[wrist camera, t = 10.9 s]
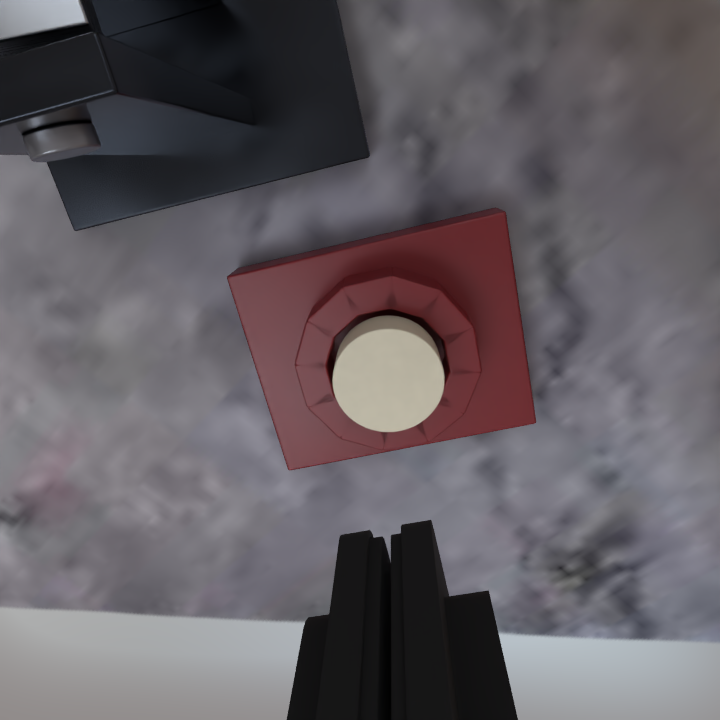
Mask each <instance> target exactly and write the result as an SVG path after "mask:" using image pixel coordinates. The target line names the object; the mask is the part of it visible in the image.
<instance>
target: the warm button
mask: <svg viewBox="0 0 720 720" xmlns="http://www.w3.org/2000/svg"><path fill="white" fill-rule="evenodd" d="M332 382H333V390H334V394H335V397H336V400H337V402H338V404H339V406H340V407H341V408H342V410H343V411H344V412H345V413H346V415H347V416H348V417H350V418H351V419H352V420H353V421H355V422H356V423H358V424H359V425H361V426H363V427H365V428H368V429H371V430H375V431H380V432H396V431H402V430H406V429H409V428H411V427H414V426H416V425H417V424H419V423H421V422H422V421H424V420H425V419H426V418H427V417H428V416H429V415H430V414H431V413H432V412H433V411H434V410H435V408H436V407H437V405H438V404H439V402H440V399H441V397H442V394H443V391H444V384H445V376H444V369H443V366H442V362H441V359H440V355H439V352H438V349H437V346H436V344H435V342H434V340H433V339H432V337H431V336H430V335H429V333H428V332H427V331H426V330H425V329H424V328H422V327H421V326H420V325H418V324H417V323H415V322H413V321H411V320H409V319H406V318H403V317H399V316H391V315H387V316H377V317H373V318H370V319H367V320H365V321H363V322H361V323H359V324H358V325H356V326H355V327H354V328H353V329H351V330H350V331H349V333H348V334H347V335H346V336H345V337H344V339H343V341H342V342H341V344H340V346H339V349H338V352H337V356H336V361H335V366H334V370H333V378H332Z"/></svg>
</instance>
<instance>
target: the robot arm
mask: <svg viewBox="0 0 720 720" xmlns="http://www.w3.org/2000/svg"><path fill="white" fill-rule="evenodd" d="M287 720H518V718H517V714H516V709H515V705H514V700H513V696H512V692H511V687H510V683H509V678H508V674H507V670H506V665H505V661H504V656H503V652H502V648H501V643H500V639H499V634H498V630H497V625H496V621H495V616H494V612H493V608H492V603H491V599H490V594H489V591H483V592H476V593H469V594H463V595H456V596H449V594H448V589H447V585H446V581H445V576H444V572H443V568H442V563H441V559H440V555H439V550H438V546H437V542H436V537H435V533H434V529H433V525H432V521H431V520H428V521H422V522H416V523H410V524H404V525H402V526H401V533H400V534H394V535H391V562H390V559H389V555H388V551H387V547H386V544H385V540H384V538H383V537H376V538H373V534H372V532H371V531H370V530H368V531H362V532H356V533H350V534H344V535H341V536H340V539H339V545H338V553H337V560H336V568H335V576H334V583H333V591H332V598H331V606H330V613H329V615H322V616H315V617H309V618H308V619H307V620H306V621H305V625H304V629H303V634H302V639H301V645H300V650H299V656H298V661H297V666H296V672H295V678H294V683H293V688H292V694H291V700H290V705H289V710H288V716H287Z"/></svg>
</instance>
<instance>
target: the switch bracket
mask: <svg viewBox="0 0 720 720" xmlns="http://www.w3.org/2000/svg"><path fill="white" fill-rule="evenodd" d="M91 1H92V4H93V6H94V9H95V12H96V15H97V18H98V21H99V24H100V27H101V30H102V33H103V34H101V33H98V32H94V31H93V32H90V33H86V34H83V35H79V36H76V37H73V38H69V39H66V40H62V41H59V42H56V43H52V44H49V45H45V46H42V47H39V48H35V49H32V50H28V51H25V52H22V53H18V54H15V55H11V56H8V57H5V58H1V59H0V155H29V157H30V159H31V160H32V161H34V162H47V164H48V166H49V169H50V171H51V174H52V176H53V179H54V181H55V184H56V186H57V189H58V191H59V194H60V196H61V199H62V201H63V204H64V206H65V209H66V211H67V214H68V216H69V219H70V221H71V224H72V226H73V229H74V230H75V231H78V230H82V229H86V228H90V227H94V226H98V225H102V224H106V223H110V222H114V221H118V220H122V219H126V218H130V217H134V216H138V215H142V214H146V213H150V212H154V211H158V210H162V209H166V208H170V207H174V206H178V205H181V204H185V203H189V202H193V201H197V200H201V199H205V198H209V197H213V196H217V195H221V194H225V193H229V192H233V191H237V190H241V189H245V188H249V187H253V186H257V185H261V184H265V183H269V182H273V181H277V180H281V179H285V178H289V177H293V176H297V175H301V174H305V173H309V172H313V171H316V170H320V169H324V168H328V167H332V166H336V165H340V164H344V163H348V162H352V161H356V160H360V159H364V158H368V157H370V152H369V148H368V143H367V138H366V134H365V129H364V124H363V120H362V115H361V111H360V106H359V101H358V97H357V92H356V88H355V83H354V78H353V74H352V69H351V65H350V60H349V55H348V51H347V46H346V41H345V37H344V32H343V28H342V23H341V18H340V14H339V9H338V5H337V0H91Z"/></svg>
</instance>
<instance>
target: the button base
mask: <svg viewBox="0 0 720 720" xmlns="http://www.w3.org/2000/svg"><path fill="white" fill-rule="evenodd" d="M227 279H228V283H229V286H230V289H231V292H232V295H233V298H234V301H235V304H236V308H237V311H238V314H239V317H240V320H241V323H242V326H243V329H244V333H245V336H246V339H247V342H248V345H249V348H250V351H251V354H252V358H253V361H254V364H255V367H256V370H257V373H258V376H259V379H260V383H261V386H262V389H263V392H264V395H265V398H266V401H267V404H268V408H269V411H270V414H271V417H272V420H273V423H274V426H275V430H276V433H277V436H278V439H279V442H280V445H281V448H282V451H283V455H284V458H285V461H286V464H287V467H288V470H294V469H300V468H305V467H310V466H315V465H320V464H326V463H331V462H336V461H341V460H347V459H352V458H357V457H362V456H367V455H373V454H378V453H383V452H388V451H393V450H399V449H404V448H409V447H414V446H420V445H425V444H430V443H435V442H440V441H446V440H451V439H456V438H461V437H466V436H472V435H477V434H482V433H487V432H493V431H498V430H503V429H508V428H513V427H519V426H524V425H529V424H534V423H536V417H535V410H534V403H533V397H532V390H531V383H530V376H529V369H528V362H527V355H526V348H525V341H524V335H523V328H522V321H521V314H520V307H519V300H518V293H517V286H516V279H515V273H514V266H513V259H512V252H511V245H510V238H509V231H508V224H507V217H506V212H505V211H503V210H500V209H498V208H492V209H487V210H483V211H479V212H475V213H470V214H466V215H462V216H458V217H453V218H449V219H445V220H441V221H436V222H432V223H428V224H424V225H419V226H415V227H411V228H407V229H403V230H398V231H394V232H390V233H386V234H381V235H377V236H373V237H369V238H364V239H360V240H356V241H352V242H347V243H343V244H339V245H335V246H330V247H326V248H322V249H318V250H313V251H309V252H305V253H301V254H296V255H292V256H288V257H284V258H279V259H275V260H271V261H267V262H263V263H258V264H254V265H250V266H246V267H241V268H238V269H236V270H235V271H234V272H232V273H231V274H230V275H229V276H227ZM387 315H391V316H399V317H403V318H406V319H409V320H411V321H413V322H415V323H417V324H418V325H420V326H421V327H422V328H424V329H425V330H426V331H427V332H428V333H429V335H430V336H431V337H432V339H433V340H434V342H435V344H436V346H437V349H438V352H439V355H440V359H441V362H442V366H443V369H444V376H445V384H444V391H443V394H442V397H441V399H440V402H439V404H438V405H437V407H436V408H435V410H434V411H433V412H432V413H431V414H430V415H429V416H428V417H427V418H426V419H425V420H424V421H422V422H421V423H419V424H417V425H416V426H414V427H411V428H409V429H406V430H402V431H396V432H380V431H375V430H371V429H368V428H365V427H363V426H361V425H359V424H358V423H356V422H355V421H353V420H352V419H351V418H350V417H348V416H347V415H346V413H345V412H344V411H343V410H342V408H341V407H340V406H339V404H338V402H337V400H336V397H335V394H334V390H333V382H332V378H333V370H334V366H335V361H336V356H337V352H338V349H339V346H340V344H341V342H342V341H343V339H344V337H345V336H346V335H347V334H348V333H349V331H350V330H351V329H353V328H354V327H355V326H356V325H358V324H359V323H361V322H363V321H365V320H367V319H370V318H373V317H377V316H387Z"/></svg>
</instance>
